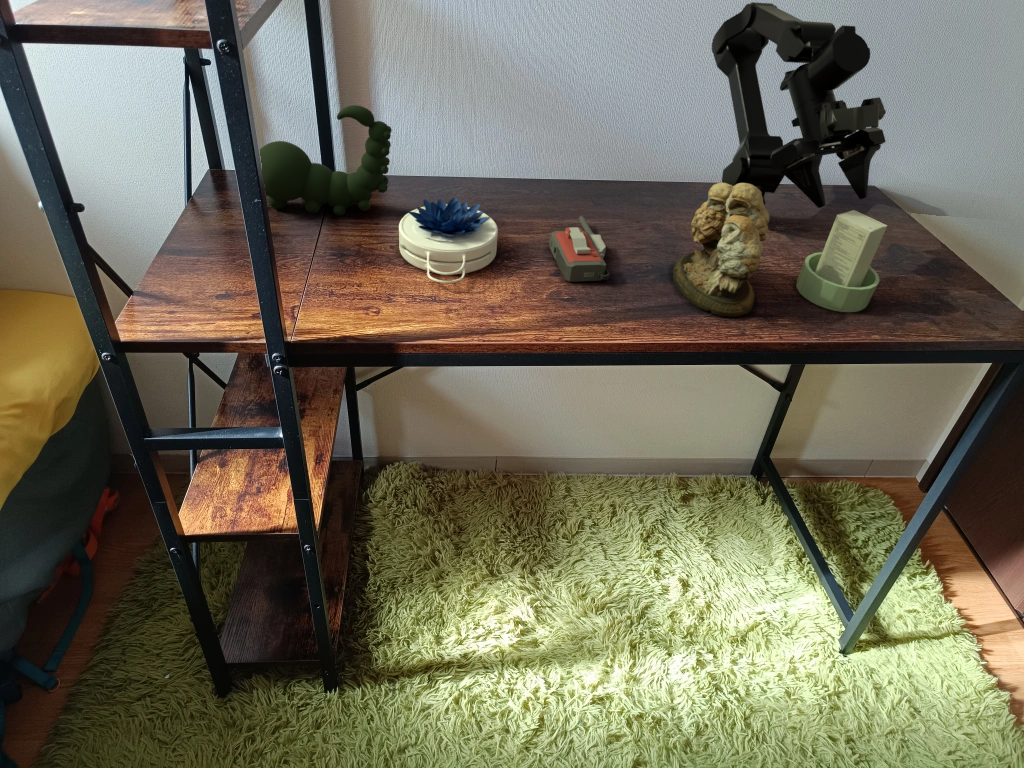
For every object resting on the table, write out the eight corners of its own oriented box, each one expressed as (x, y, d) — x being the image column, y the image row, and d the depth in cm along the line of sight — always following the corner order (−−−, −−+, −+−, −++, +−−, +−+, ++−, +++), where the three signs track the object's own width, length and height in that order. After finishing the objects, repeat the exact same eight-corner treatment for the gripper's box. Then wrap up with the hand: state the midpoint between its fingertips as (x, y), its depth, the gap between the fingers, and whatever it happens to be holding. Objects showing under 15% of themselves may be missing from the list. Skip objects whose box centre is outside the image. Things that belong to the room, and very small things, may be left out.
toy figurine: (387, 207, 125) (242, 189, 121) (394, 100, 113) (233, 77, 109) (384, 232, 118) (230, 214, 114) (390, 121, 106) (219, 97, 102)
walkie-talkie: (620, 285, 108) (585, 224, 123) (625, 260, 105) (589, 201, 120) (566, 287, 106) (537, 225, 121) (569, 261, 103) (540, 201, 118)
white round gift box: (404, 185, 113) (388, 245, 98) (499, 192, 114) (498, 252, 99) (405, 224, 118) (390, 287, 102) (496, 230, 118) (495, 293, 103)
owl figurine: (655, 258, 115) (679, 158, 104) (720, 256, 118) (750, 158, 107) (697, 320, 102) (730, 213, 91) (770, 316, 104) (810, 212, 93)
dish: (796, 302, 108) (806, 279, 105) (795, 268, 117) (804, 246, 114) (871, 319, 106) (883, 295, 103) (865, 283, 115) (875, 261, 112)
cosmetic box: (857, 295, 110) (890, 226, 102) (840, 302, 108) (872, 232, 100) (825, 276, 114) (854, 208, 106) (807, 282, 112) (836, 213, 104)
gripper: (813, 81, 95) (845, 191, 94) (902, 72, 102) (931, 174, 102) (755, 119, 105) (783, 218, 105) (840, 108, 112) (867, 201, 112)
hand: (843, 202), depth 106 cm, fingers open, 9 cm apart
